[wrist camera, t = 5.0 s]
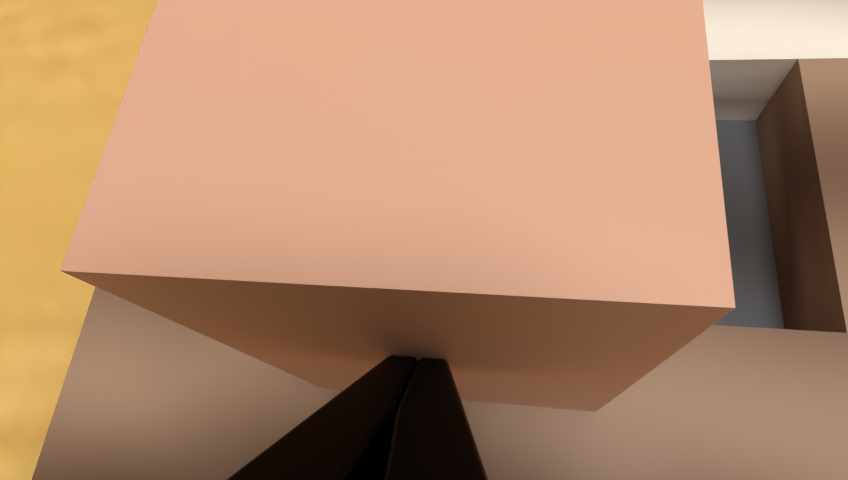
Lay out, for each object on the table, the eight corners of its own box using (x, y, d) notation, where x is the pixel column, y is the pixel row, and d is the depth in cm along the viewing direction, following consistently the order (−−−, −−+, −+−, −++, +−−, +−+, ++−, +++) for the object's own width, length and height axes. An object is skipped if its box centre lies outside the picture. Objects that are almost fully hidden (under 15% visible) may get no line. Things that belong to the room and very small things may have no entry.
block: (595, 411, 12) (735, 308, 4) (320, 387, 13) (60, 270, 5) (592, 125, 14) (676, -241, 7) (364, 124, 15) (227, -195, 8)
